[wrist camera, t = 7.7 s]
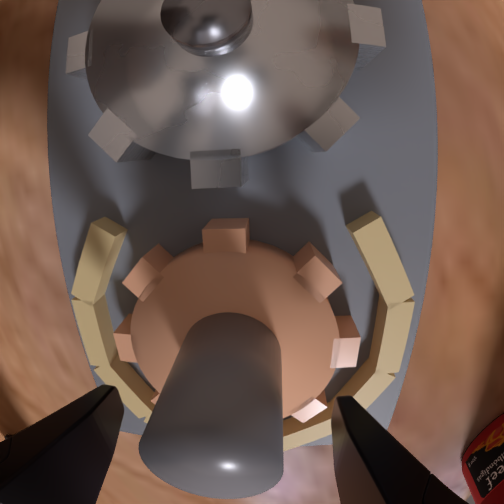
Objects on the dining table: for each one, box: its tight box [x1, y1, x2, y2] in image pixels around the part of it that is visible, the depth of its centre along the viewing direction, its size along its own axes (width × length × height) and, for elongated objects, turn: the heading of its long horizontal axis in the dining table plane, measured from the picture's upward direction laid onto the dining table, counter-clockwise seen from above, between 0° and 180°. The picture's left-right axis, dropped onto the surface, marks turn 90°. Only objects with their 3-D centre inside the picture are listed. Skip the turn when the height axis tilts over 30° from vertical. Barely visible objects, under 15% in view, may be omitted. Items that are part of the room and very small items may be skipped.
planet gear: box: [113, 218, 361, 499], centre depth 9 cm, size 8×8×6 cm
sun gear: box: [66, 0, 386, 189], centre depth 7 cm, size 8×8×4 cm
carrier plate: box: [47, 0, 438, 451], centre depth 10 cm, size 14×21×2 cm, turn 2°
